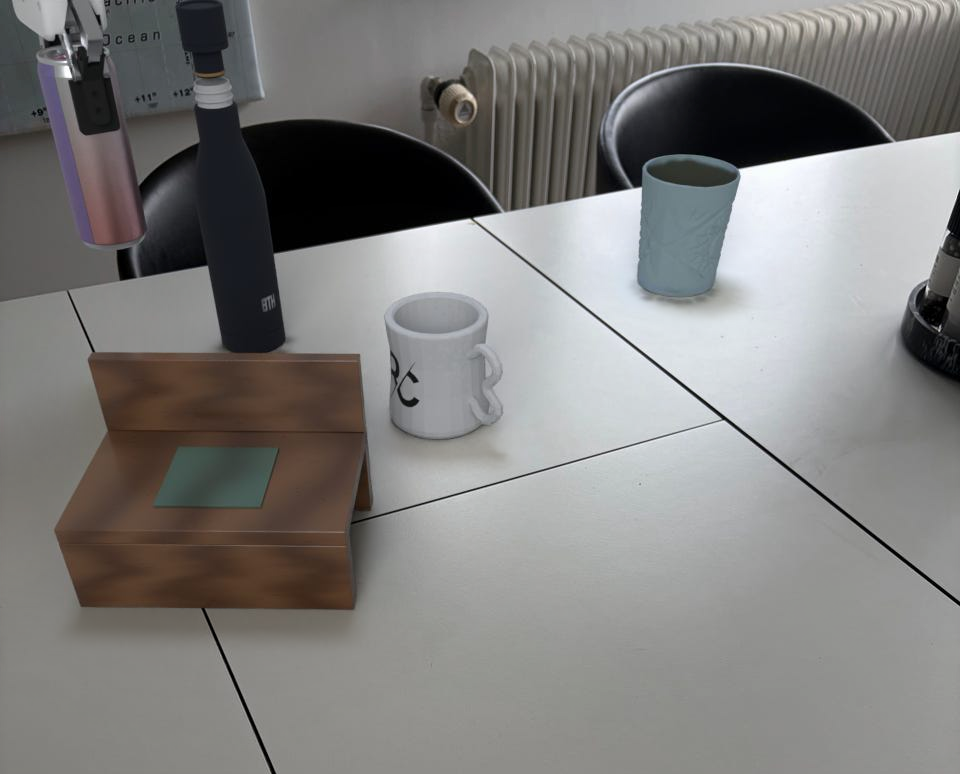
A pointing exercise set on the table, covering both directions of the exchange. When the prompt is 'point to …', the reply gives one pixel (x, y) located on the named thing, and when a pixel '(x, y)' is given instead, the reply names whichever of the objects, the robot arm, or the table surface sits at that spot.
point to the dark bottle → (230, 195)
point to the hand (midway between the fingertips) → (87, 119)
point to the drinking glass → (684, 222)
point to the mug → (441, 365)
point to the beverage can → (93, 162)
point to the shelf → (221, 482)
